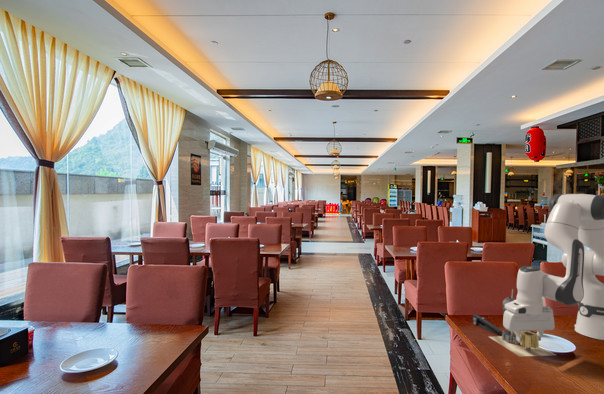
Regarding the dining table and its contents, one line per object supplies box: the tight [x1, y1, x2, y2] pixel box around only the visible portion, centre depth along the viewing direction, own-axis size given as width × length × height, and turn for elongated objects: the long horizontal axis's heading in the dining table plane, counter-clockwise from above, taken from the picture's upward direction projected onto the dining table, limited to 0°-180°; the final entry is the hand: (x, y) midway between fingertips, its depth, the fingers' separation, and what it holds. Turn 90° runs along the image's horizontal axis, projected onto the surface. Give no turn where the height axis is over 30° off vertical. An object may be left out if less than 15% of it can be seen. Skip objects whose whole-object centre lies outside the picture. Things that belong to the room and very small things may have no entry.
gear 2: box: [519, 331, 540, 348], centre depth 132 cm, size 7×7×4 cm
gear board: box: [488, 331, 557, 357], centre depth 136 cm, size 16×18×6 cm
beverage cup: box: [501, 288, 516, 313], centre depth 155 cm, size 7×7×20 cm
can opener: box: [471, 314, 503, 336], centre depth 154 cm, size 18×7×6 cm, turn 7°
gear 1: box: [501, 329, 521, 345], centre depth 141 cm, size 8×8×3 cm
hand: (528, 340), depth 132 cm, fingers closed on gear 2, 7 cm apart
